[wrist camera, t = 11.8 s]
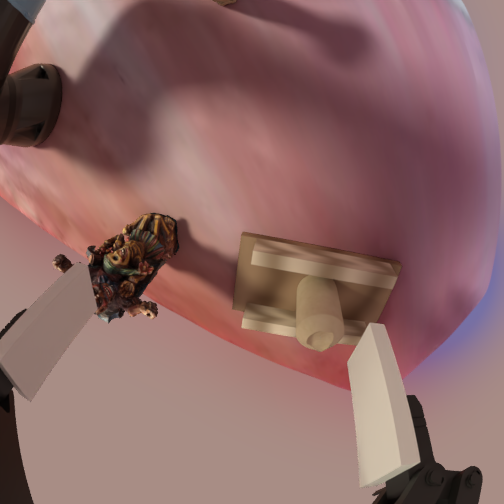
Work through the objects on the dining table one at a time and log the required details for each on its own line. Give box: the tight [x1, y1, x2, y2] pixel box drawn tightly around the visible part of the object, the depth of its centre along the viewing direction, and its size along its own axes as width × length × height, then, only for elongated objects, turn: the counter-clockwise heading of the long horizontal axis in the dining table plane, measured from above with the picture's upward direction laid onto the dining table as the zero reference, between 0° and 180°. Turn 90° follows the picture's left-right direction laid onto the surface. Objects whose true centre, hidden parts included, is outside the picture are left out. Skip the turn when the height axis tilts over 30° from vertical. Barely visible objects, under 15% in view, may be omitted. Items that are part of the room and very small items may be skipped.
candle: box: [296, 275, 345, 352], centre depth 32 cm, size 6×6×10 cm
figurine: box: [52, 213, 179, 323], centre depth 29 cm, size 11×9×18 cm
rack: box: [232, 232, 402, 345], centre depth 35 cm, size 22×12×5 cm, turn 83°
